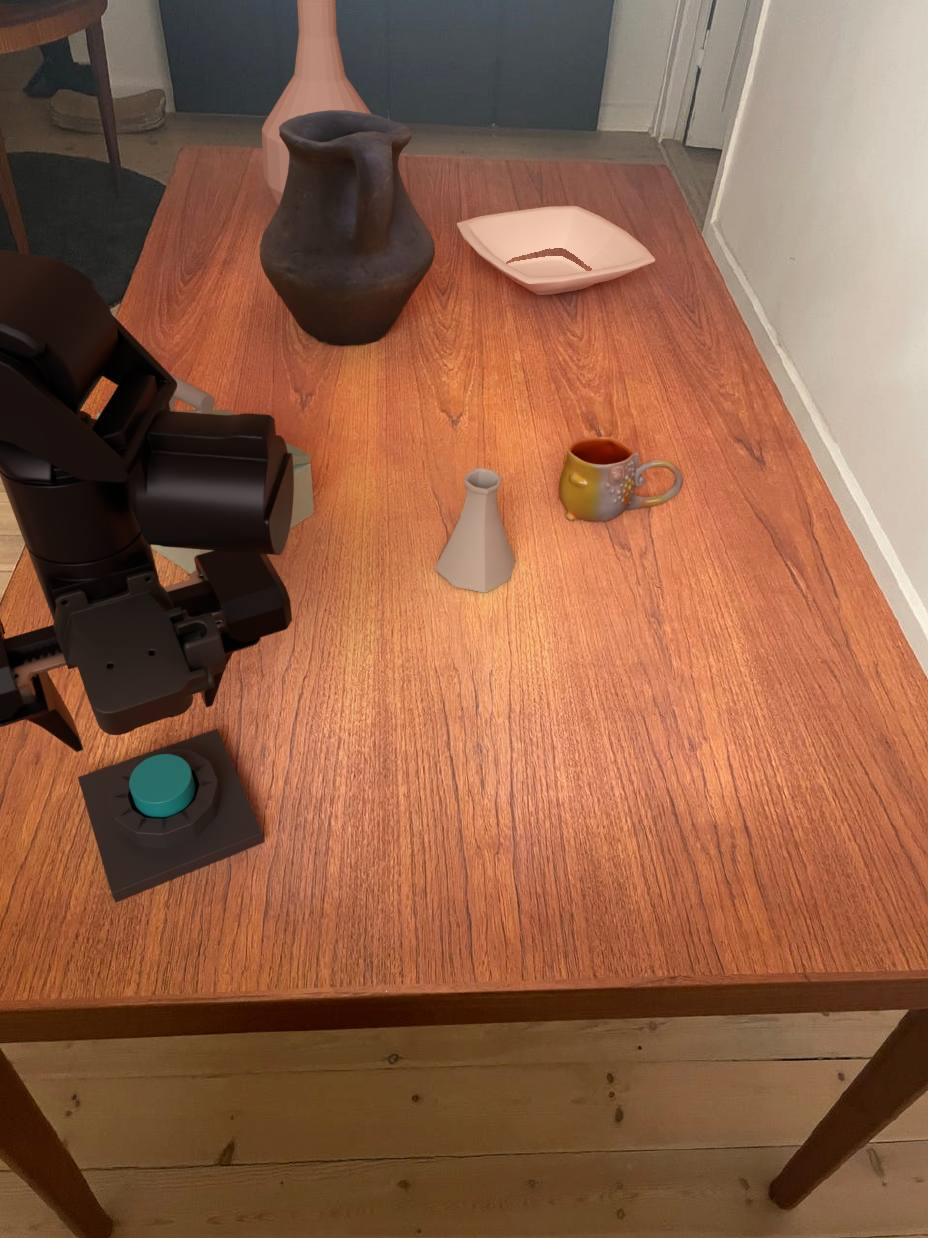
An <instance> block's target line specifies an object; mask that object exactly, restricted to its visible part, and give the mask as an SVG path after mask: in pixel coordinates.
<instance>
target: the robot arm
mask: <svg viewBox="0 0 928 1238" xmlns="http://www.w3.org/2000/svg"><path fill="white" fill-rule="evenodd" d="M170 374H171V373H169V371H167V369H165V368H164V367H163V366H162V364H161V363H159V362H158V360H157V359H156V358H155V357H154V356H153V355H152V354H151V353H150V352H149V350H147V349H146V347H144V346H143V345H142V344H141V342H139V341H138V339H136V337H134V335H132V333H131V332H130V331H129V330H128V329H127V328H126V327H125V326H124V325H123V324H122V323H121V322H120V321H119V319H118V318H116V317H115V315H114V314H113V313H112V311H111V308H110V306H109V304H108V303H107V302H106V301H105V299H104V298H103V297H102V295H101V294H100V293H99V292H98V290H97V289H96V287H95V283H94V280H92V279H91V278H90V277H88V276H87V275H86V274H84V273H83V271H80V270H79V269H77V268H75V267H74V266H71V265H70V264H67V263H66V262H63V261H62V260H58V259H54V258H50V257H47V256H41V255H36V254H29V253H23V252H17V251H12V250H5V249H0V480H1V482H2V485H3V487H4V490H5V493H6V496H7V498H8V502H9V505H10V507H11V509H12V512H13V515H14V518H15V520H16V523H17V526H18V528H19V531H20V534H21V536H22V540H23V542H24V544H25V547H26V549H27V553H28V555H29V558H30V560H31V564H32V567H33V569H34V572H35V574H36V578H37V580H38V582H39V584H40V588H41V590H42V593H43V596H44V598H45V601H46V604H47V606H48V609H49V612H50V615H51V617H52V620H53V624H52V625H47V626H45V627H41V628H37V629H34V630H31V631H27V632H23V633H20V634H17V635H13V636H10V637H6V636H5V634H6V630H5V626H4V624H3V622H2V619H1V618H0V728H2V727H6V726H10V725H13V724H16V723H19V722H22V721H29V722H31V723H33V724H35V725H37V726H39V727H41V728H42V729H44V730H45V731H47V732H48V733H49V734H51V735H52V736H54V737H55V738H56V739H58V740H59V741H60V742H62V743H63V744H65V745H66V746H67V747H69V748H70V749H71V750H73V751H74V752H76V753H78V752H81V751H83V750H84V746H83V743H82V740H81V736H80V734H79V730H78V729H77V725H76V723H75V721H74V717H73V716H72V713H71V712H70V710H69V709H68V707H67V705H66V703H65V701H64V699H63V697H62V695H61V694H60V692H59V691H58V689H57V687H56V685H55V684H54V681H53V680H52V678H51V676H50V674H49V673H48V672H49V671H52V670H56V669H58V668H62V667H65V666H66V667H67V669H68V670H72V669H75V668H77V670H78V673H79V676H80V678H81V682H82V685H83V689H84V690H85V694H86V697H87V700H88V703H89V705H90V707H91V710H92V712H93V715H94V718H95V720H96V724H97V725H98V728H99V729H101V731H103V732H104V733H105V734H107V735H110V736H122V735H125V734H129V733H131V732H133V731H134V730H136V729H139V728H141V727H144V726H147V725H150V724H153V723H156V722H159V721H163V720H165V719H169V718H172V719H173V718H175V717H179V716H181V715H183V714H185V713H186V712H187V711H188V710H189V709H190V708H191V707H192V705H193V702H194V695H196V694H198V693H200V696H201V698H202V702H203V704H204V706H205V708H211V707H212V706H213V705H214V703H215V701H216V700H215V699H216V697H217V694H218V691H219V689H220V688H219V687H220V685H221V683H222V679H223V676H224V673H225V671H226V669H227V665H228V663H229V661H230V659H231V657H232V656H233V654H234V653H235V652H238V651H241V650H244V649H248V648H250V647H251V648H252V647H254V646H256V645H257V644H259V642H260V641H261V638H264V637H266V636H270V635H273V634H276V633H280V632H283V631H286V630H288V628H289V626H290V625H291V623H292V621H293V614H292V613H293V612H292V604H291V598H290V595H289V593H288V590H287V586H286V585H285V583H284V581H283V580H282V578H281V576H280V574H279V572H278V571H277V569H276V567H275V566H274V564H273V563H272V561H271V558H270V557H269V556H281V555H282V554H283V552H284V550H285V548H286V546H287V542H288V539H289V534H290V531H291V529H290V525H291V518H292V509H293V495H294V470H293V458H292V453H288V451H287V447H286V443H285V442H286V441H285V437H283V436H282V435H279V434H277V430H276V428H277V427H276V420H275V418H274V417H273V416H272V415H271V414H266V413H265V414H264V413H253V412H252V413H251V412H250V413H248V412H247V413H243V412H242V413H237V414H235V415H215V414H202V413H189V412H176V411H177V410H174V411H170V406H169V402H170V400H171V398H172V396H173V394H174V393H175V391H176V389H177V382H176V380H175V379H174V378H173V377H172V376H171V375H170ZM102 378H105V379H106V380H107V381H110V382H112V383H113V384H115V385H117V386H116V388H115V390H114V391H113V393H112V395H111V396H110V398H109V399H108V401H107V403H106V404H105V406H104V407H103V410H102V411H101V412H100V413H101V414H100V415H99V417H98V419H97V418H94V417H92V415H91V414H89V413H88V411H87V412H86V411H84V410H81V409H82V408H83V407H84V406H85V403H86V402H87V400H88V399H89V398H90V396H91V394H92V393H93V391H94V390H95V388H96V387H97V385H98V384H99V383H100V381H101V379H102ZM151 545H160V546H162V547H175V548H188V549H201V550H214V551H211V552H207V553H204V554H200V555H196V556H195V557H194V561H195V565H196V570H195V571H194V572H192V573H191V574H190V575H189V578H188V579H187V580H184V581H181V582H177V583H173V584H170V585H167V586H163V585H162V584H161V583H160V577H159V573H158V570H157V565H156V562H155V561H156V560H155V558H154V553H153V549H152V548H151ZM5 637H6V638H5Z"/></svg>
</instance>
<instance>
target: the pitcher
mask: <svg viewBox="0 0 928 1238" xmlns="http://www.w3.org/2000/svg"><path fill="white" fill-rule="evenodd" d="M412 135H413V134H412V131H411V129H410V128H409V127H408V126H407V125H404V124H402V123H400V122H398V121H394V120H390V119H388V117H387V118H386V117H383V116H381V115H377V114H373V113H371V114H367V113H361V112H354V111H347V110H328V111H319V112H313V113H308V114H305V115H300V116H296V117H294V118H291V119H289V120H287V121H285V122H284V123H282V124H281V125H280V126H279V136H280V137H281V139H282V141H283V142H284V144H285V145H286V147H287V149H288V151H289V167H288V175H287V179H286V184H285V188H284V192H283V195H282V199H281V201H280V204H279V206H278V205H277V207H276V210H275V212H274V214H273V215H272V218H271V219H270V221H269V224H267V227H266V228H265V229H264V231H263V234H262V236H261V240H260V245H259V259H260V264H261V268H262V270H263V272H264V275H265V276H266V278H267V280H268V281H269V282H270V285H271V286H272V287H273V289H274V291H275V292H276V293H277V295H278V296H279V297H280V299H281V300H282V301H283V303H284V305H285V306H286V308H287V311H289V313H290V314H291V316H292V317H293V318H294V320H295V322H296V324H297V325H298V326H299V327H300V328H301V330H303V331H304V332H305V333H306V334H308V335H309V336H311V337H313V338H314V339H316V340H317V341H318V342H323V343H327V344H329V345H337V346H352V345H353V346H354V345H366V344H371V343H375V342H378V341H380V340H381V339H382V338H384V337H385V336H386V335H387V333H388V332H389V331H390V330H391V329H392V327H393V326H394V325H395V323H396V322H397V320H398V319H399V317H400V315H401V314H402V312H403V311H404V309H405V307H406V305H407V304H408V302H409V300H410V299H411V297H412V295H413V293H414V292H415V291H416V289H417V288H418V286H420V284H421V282H422V281H423V280H424V278H425V276H426V275H427V273H428V272H429V270H430V269H431V268H432V265H433V262H434V259H435V253H436V246H435V245H436V244H435V241H434V238H433V236H432V232H431V231H430V230H429V229H428V227H427V225H426V224H425V222H424V221H423V219H422V217H421V216H420V214H419V213H418V210H417V209H416V207H415V206H414V204H413V202H412V199H411V198H410V196H409V194H408V193H409V192H407V189H406V187H405V185H404V181H403V179H402V176H401V173H400V169H399V161H400V155H401V153H402V152H403V150H404V148H405V147H406V146H407V145H409V143H410V141H411V140H412Z"/></svg>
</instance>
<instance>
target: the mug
mask: <svg viewBox="0 0 928 1238" xmlns="http://www.w3.org/2000/svg"><path fill="white" fill-rule="evenodd" d="M566 451H567V452H566V454H565V456H564V457H563V467H562V470H561V473H560V477H559V481H558V496H559V500H560V502H561V504H562V506H563V508H564V510H565V511H566V512H565V519H566V520H568V521H571V522H572V521H577V520H581V521H584V522H588V523H589V522H592V523H603V522H608V521H611V520H614V519H617V517H619V516H620V515H621V514H622V513H624V512H626V511H632V510H639V509H646V508H647V509H648V508H652V507H653V508H654V507H657V506H660V505H662V504H665V503H667V502H669V501H670V500H672V499H673V498H675V497H676V496H677V495H679V493H680V492H681V490H682V488H683V484H684V475H683V473H682V471H681V469H680V468H679V466H677V465H676V464H675V463H673V462H672V461H670V460H668V459H665V458H655V459H651V460H648V461H646V462H644V463H642V464H640V465H639V463H640V455H639V453H638V452H637V451H636V450H635V451H634V450H633V449H632V448H630V447H629V446H628V445H627V444H626V443H624V442H623V441H621V440H619V439H616V438H614V437H611V436H592V437H585V438H579V439H577V440H575V441H574V442H573V443H571V444H570V445H569V446H568V448H567V450H566ZM653 468H665V469H667V470H669V471H670V472H671V473H672V474H673V477H674V480H673V481H674V482H673V484H672V486H671V487H670V488H669V489H668V490H666V491H665V492H664V493H661V494H657V495H651V496H643V495H638V494H637V493H636V492H635V489H636V488H642V487H643V486H645V484H646V478H645V475H643V473H644V472H646V471H647V470H650V469H653Z"/></svg>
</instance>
